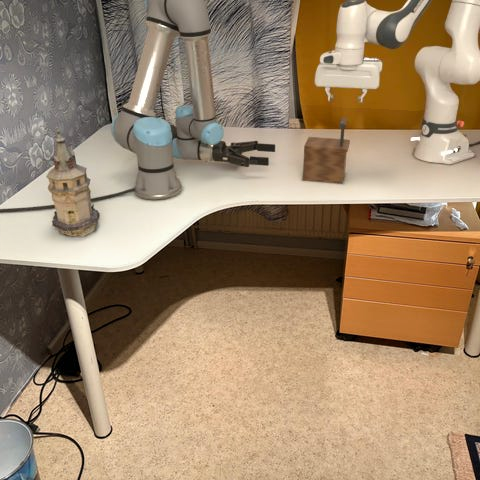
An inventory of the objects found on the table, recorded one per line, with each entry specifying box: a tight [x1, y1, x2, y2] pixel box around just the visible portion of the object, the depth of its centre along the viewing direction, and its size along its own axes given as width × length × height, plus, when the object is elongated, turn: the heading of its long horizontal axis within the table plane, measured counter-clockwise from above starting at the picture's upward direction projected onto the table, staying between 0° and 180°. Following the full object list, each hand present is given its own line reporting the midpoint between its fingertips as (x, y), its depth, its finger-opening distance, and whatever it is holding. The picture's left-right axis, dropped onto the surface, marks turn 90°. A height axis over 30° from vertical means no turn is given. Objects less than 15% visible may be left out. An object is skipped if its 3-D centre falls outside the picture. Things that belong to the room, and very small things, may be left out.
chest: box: [302, 148, 348, 185], centre depth 184 cm, size 14×10×11 cm
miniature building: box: [46, 129, 101, 237], centre depth 148 cm, size 13×14×30 cm
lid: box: [303, 117, 351, 153], centre depth 179 cm, size 14×10×9 cm
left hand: (271, 154), depth 189 cm, fingers open, 13 cm apart
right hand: (345, 101), depth 173 cm, fingers open, 8 cm apart
